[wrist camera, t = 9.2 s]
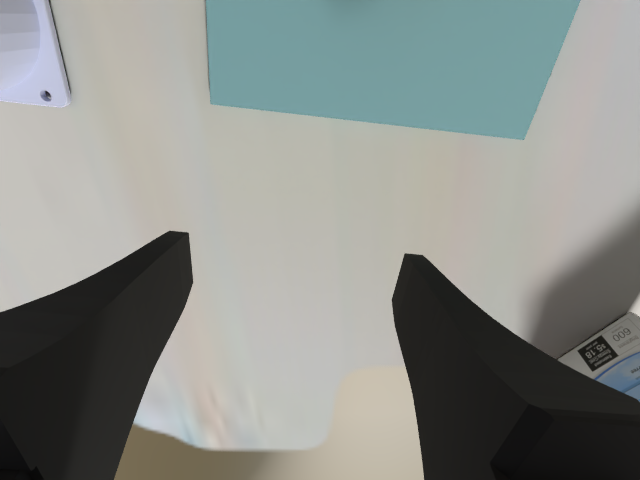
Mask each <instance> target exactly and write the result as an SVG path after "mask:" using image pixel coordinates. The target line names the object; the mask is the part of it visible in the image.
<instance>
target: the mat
mask: <svg viewBox="0 0 640 480" xmlns="http://www.w3.org/2000/svg"><path fill="white" fill-rule="evenodd" d="M579 3H580V0H206V14H207V36H208V58H209V80H210V102H211V104H213V105H222V106H231V107H239V108H248V109H257V110H266V111H274V112H283V113H292V114H301V115H309V116H318V117H327V118H336V119H344V120H353V121H362V122H371V123H379V124H388V125H397V126H406V127H414V128H423V129H432V130H441V131H449V132H458V133H467V134H476V135H485V136H493V137H502V138H511V139H520V140H524V139H525V136H526V134H527V131H528V129H529V126H530V124H531V121H532V119H533V117H534V114H535V112H536V109H537V107H538V104H539V102H540V99H541V97H542V94H543V92H544V89H545V87H546V84H547V82H548V79H549V77H550V75H551V72H552V70H553V67H554V65H555V62H556V60H557V57H558V55H559V52H560V50H561V47H562V45H563V42H564V40H565V37H566V35H567V32H568V30H569V28H570V25H571V23H572V20H573V18H574V15H575V13H576V10H577V8H578V5H579Z"/></svg>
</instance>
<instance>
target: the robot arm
mask: <svg viewBox="0 0 640 480" xmlns="http://www.w3.org/2000/svg"><path fill="white" fill-rule="evenodd" d="M45 91H48V92H49V93H50V95H51V97H52V99H49V98H48V97H47V96H46V94H45ZM0 101H6V102H15V103H24V104H33V105H42V106H51V107H65V106H68V105H69V104H70V103H71V94H70V90H69V86H68V82H67V77H66V73H65V69H64V65H63V60H62V56H61V52H60V48H59V43H58V39H57V35H56V30H55V26H54V22H53V18H52V13H51V9H50V5H49V1H48V0H0ZM192 284H193V275H192V264H191V254H190V243H189V233H187V232H176V231H169V232H167V233H165V234H163V235H161V236H160V237H158V238H156V239H155V240H153V241H151V242H150V243H148V244H146V245H145V246H143V247H142V248H140V249H138V250H137V251H135V252H133V253H132V254H130V255H128V256H127V257H125V258H123V259H122V260H120V261H118V262H116V263H114V264H112V265H111V266H109V267H107V268H105V269H103V270H101V271H100V272H98V273H96V274H94V275H92V276H90V277H88V278H86V279H84V280H82V281H80V282H78V283H76V284H73V285H71V286H69V287H67V288H64V289H62V290H60V291H57V292H55V293H53V294H50V295H47V296H45V297H42V298H39V299H37V300H34V301H31V302H29V303H26V304H23V305H21V306H18V307H15V308H12V309H9V310H6V311H3V312H0V480H114V477H115V474H116V471H117V468H118V465H119V462H120V459H121V456H122V453H123V450H124V447H125V444H126V441H127V438H128V435H129V432H130V429H131V427H132V424H133V421H134V418H135V416H136V413H137V410H138V407H139V404H140V402H141V399H142V397H143V394H144V391H145V389H146V386H147V383H148V381H149V378H150V376H151V374H152V372H153V369H154V367H155V365H156V363H157V361H158V359H159V357H160V355H161V353H162V351H163V349H164V347H165V345H166V343H167V341H168V339H169V338H170V336H171V334H172V332H173V330H174V328H175V326H176V324H177V322H178V320H179V318H180V316H181V314H182V312H183V310H184V308H185V305H186V302H187V299H188V296H189V293H190V290H191V287H192ZM392 306H393V315H394V322H395V328H396V332H397V336H398V340H399V344H400V347H401V351H402V355H403V359H404V362H405V366H406V370H407V373H408V377H409V381H410V385H411V389H412V393H413V399H414V405H415V412H416V417H417V424H418V432H419V439H420V446H421V454H422V462H423V471H424V480H640V402H639V401H638V400H637V399H636V398H633V397H631V396H629V395H627V394H625V393H622V392H620V391H618V390H616V389H614V388H612V387H609V386H607V385H605V384H603V383H601V382H598V381H596V380H594V379H592V378H590V377H588V376H586V375H584V374H582V373H580V372H578V371H576V370H575V369H573V368H571V367H569V366H567V365H565V364H563V363H561V362H560V361H558V360H556V359H554V358H552V357H551V356H549V355H547V354H545V353H544V352H542V351H541V350H539V349H537V348H536V347H534V346H532V345H531V344H529V343H528V342H526V341H524V340H523V339H521V338H520V337H518V336H517V335H515V334H514V333H512V332H511V331H510V330H508V329H507V328H505V327H504V326H503V325H501V324H500V323H499V322H497V321H496V320H494V319H493V318H492V317H491V316H489V315H488V314H487V313H485V312H484V311H483V310H482V309H481V308H479V307H478V306H477V305H476V304H475V303H473V302H472V301H471V300H470V299H469V298H468V297H467V296H465V295H464V294H463V293H462V292H461V291H460V290H459V289H458V288H457V287H456V286H455V285H454V284H452V283H451V282H450V281H449V280H448V279H447V278H446V277H445V276H444V275H443V274H442V273H441V272H440V271H439V270H438V269H437V268H436V267H435V266H434V265H433V264H432V263H431V262H430V261H429V260H428V259H426V258H425V257H424V256H423V255H416V254H405V255H404V258H403V262H402V265H401V269H400V272H399V276H398V280H397V283H396V287H395V290H394V294H393V298H392Z"/></svg>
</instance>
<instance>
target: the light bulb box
mask: <svg viewBox="0 0 640 480" xmlns="http://www.w3.org/2000/svg"><path fill="white" fill-rule="evenodd" d="M558 361H560V362H561V363H563V364H565V365H567V366H569V367H571V368H573V369H575V370H576V371H578V372H580V373H582V374H584V375H586V376H588V377H590V378H592V379H594V380H596V381H598V382H601V383H603V384H605V385H607V386H609V387H612V388H614V389H616V390H618V391H620V392H622V393H625V394H627V395H629V396H631V397H633V398H636V399H637V400H638V401H639V402H640V317H639V316H637V315H636V314H634V313H632V312H629V313H628V314H626V315H624V316H623V317H622V318H620V319H619V320H617V321H616V322H614V323H613V324H611V325H609V326H608V327H606V328H605V329H603V330H602V331H600V332H599V333H597V334H596V335H594V336H593V337H591V338H590V339H588V340H587V341H585V342H584V343H582V344H580V345H579V346H577V347H576V348H574V349H573V350H571V351H570V352H568V353H567V354H565V355H564V356H562V357H561V358H559V359H558Z"/></svg>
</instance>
